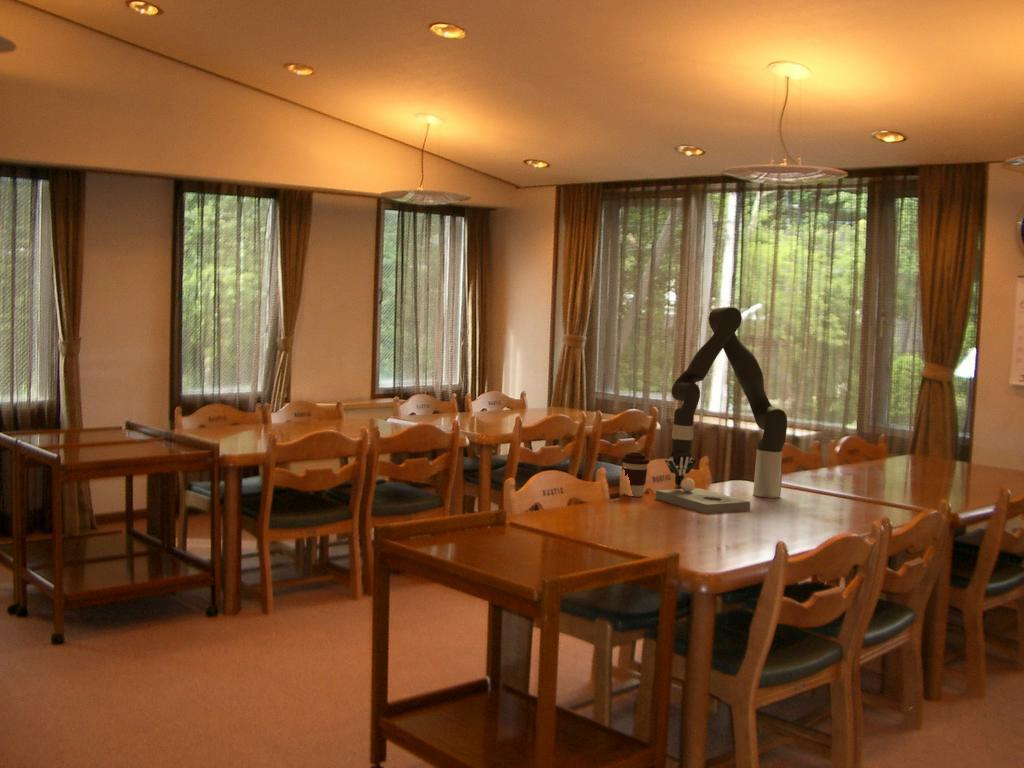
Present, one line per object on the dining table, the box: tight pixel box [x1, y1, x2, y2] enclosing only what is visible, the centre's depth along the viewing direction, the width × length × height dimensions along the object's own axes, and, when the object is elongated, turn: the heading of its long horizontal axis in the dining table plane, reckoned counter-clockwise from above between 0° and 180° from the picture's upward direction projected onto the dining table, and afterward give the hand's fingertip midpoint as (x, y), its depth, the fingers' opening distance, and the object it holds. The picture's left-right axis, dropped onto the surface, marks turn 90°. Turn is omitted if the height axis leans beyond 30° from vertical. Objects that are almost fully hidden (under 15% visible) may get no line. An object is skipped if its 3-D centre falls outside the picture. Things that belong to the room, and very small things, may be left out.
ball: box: [680, 477, 696, 492], centre depth 369 cm, size 5×5×5 cm
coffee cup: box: [620, 452, 650, 498], centre depth 373 cm, size 10×10×15 cm
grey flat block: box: [655, 487, 751, 514], centre depth 363 cm, size 20×26×3 cm
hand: (678, 485), depth 373 cm, fingers closed
